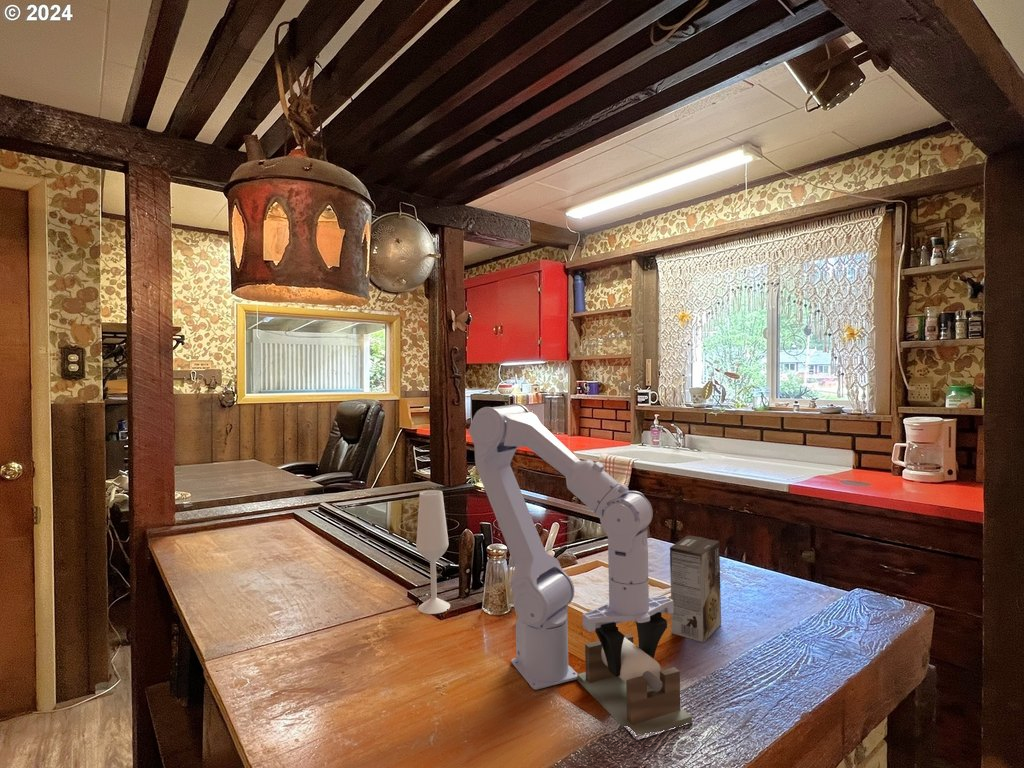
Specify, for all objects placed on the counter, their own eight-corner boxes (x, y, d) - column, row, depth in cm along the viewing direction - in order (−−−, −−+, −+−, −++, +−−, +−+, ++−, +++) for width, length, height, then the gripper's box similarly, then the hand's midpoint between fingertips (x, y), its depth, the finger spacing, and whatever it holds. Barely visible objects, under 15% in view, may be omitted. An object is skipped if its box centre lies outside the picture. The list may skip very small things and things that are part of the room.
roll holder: (577, 680, 88) (576, 639, 88) (625, 667, 92) (625, 628, 92) (636, 741, 74) (635, 692, 74) (692, 723, 77) (691, 676, 77)
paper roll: (594, 663, 88) (591, 632, 88) (621, 654, 90) (618, 624, 90) (643, 709, 76) (640, 673, 76) (674, 697, 78) (671, 662, 77)
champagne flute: (413, 604, 119) (410, 491, 118) (443, 598, 122) (440, 488, 122) (423, 616, 113) (420, 497, 113) (455, 609, 116) (452, 493, 116)
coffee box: (689, 616, 110) (687, 534, 110) (722, 624, 106) (720, 540, 106) (669, 633, 103) (668, 546, 103) (704, 643, 99) (702, 552, 99)
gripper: (599, 595, 76) (601, 694, 76) (686, 578, 81) (688, 670, 82) (574, 578, 82) (576, 669, 83) (656, 563, 88) (658, 649, 88)
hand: (630, 668), depth 83 cm, fingers closed on paper roll, 5 cm apart
